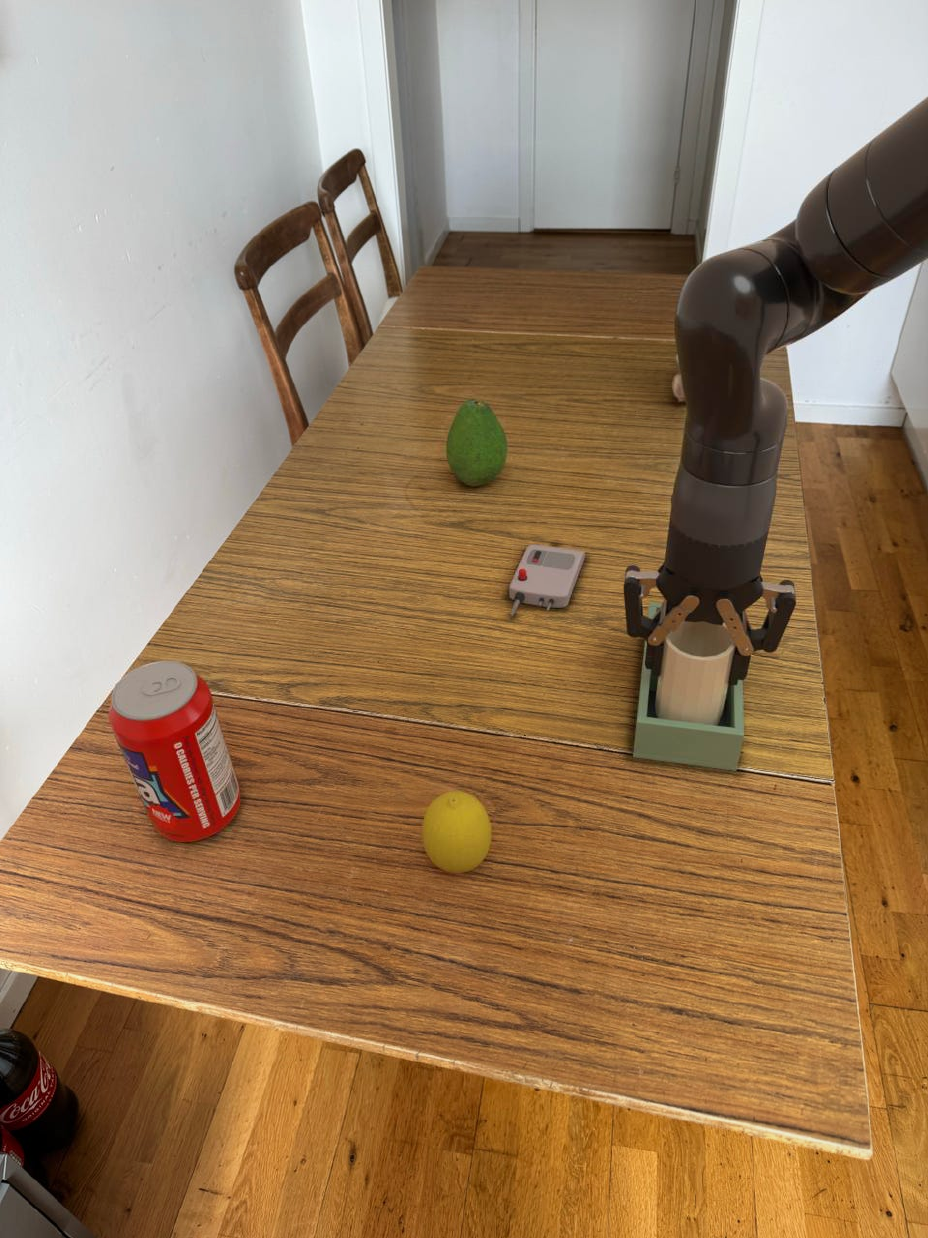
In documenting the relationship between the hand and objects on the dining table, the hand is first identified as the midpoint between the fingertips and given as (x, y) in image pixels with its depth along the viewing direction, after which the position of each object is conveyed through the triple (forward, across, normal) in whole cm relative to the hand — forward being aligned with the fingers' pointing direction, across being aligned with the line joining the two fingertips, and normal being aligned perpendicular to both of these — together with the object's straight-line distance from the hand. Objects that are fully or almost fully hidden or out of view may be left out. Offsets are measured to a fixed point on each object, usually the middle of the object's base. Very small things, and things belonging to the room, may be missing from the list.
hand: (694, 673), depth 79 cm
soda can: (+7, -41, -18) cm, 46 cm away
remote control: (+7, -16, +20) cm, 27 cm away
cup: (+5, 0, 0) cm, 5 cm away
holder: (+7, 0, +4) cm, 8 cm away
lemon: (+7, -18, -19) cm, 27 cm away
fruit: (+7, -29, +41) cm, 51 cm away
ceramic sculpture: (+7, 0, +73) cm, 74 cm away
